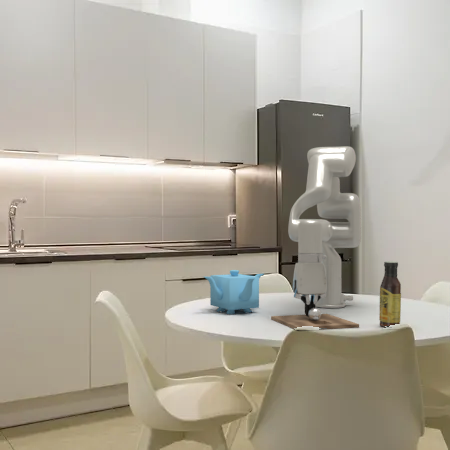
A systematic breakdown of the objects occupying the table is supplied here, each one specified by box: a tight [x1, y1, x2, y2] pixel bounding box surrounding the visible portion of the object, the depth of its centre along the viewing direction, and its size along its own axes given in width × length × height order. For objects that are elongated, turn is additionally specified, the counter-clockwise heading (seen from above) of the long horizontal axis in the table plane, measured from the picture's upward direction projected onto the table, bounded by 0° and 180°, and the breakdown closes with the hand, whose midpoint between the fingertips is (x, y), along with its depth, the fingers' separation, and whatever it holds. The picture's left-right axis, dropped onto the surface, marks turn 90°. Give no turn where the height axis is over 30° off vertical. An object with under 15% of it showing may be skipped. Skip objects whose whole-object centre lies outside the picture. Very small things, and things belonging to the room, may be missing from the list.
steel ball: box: [308, 307, 322, 321], centre depth 194 cm, size 4×4×4 cm
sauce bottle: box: [378, 260, 402, 328], centre depth 189 cm, size 7×6×20 cm
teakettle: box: [203, 269, 265, 315], centre depth 220 cm, size 19×19×15 cm
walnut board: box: [270, 313, 360, 330], centre depth 195 cm, size 20×22×1 cm
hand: (310, 316), depth 198 cm, fingers closed
